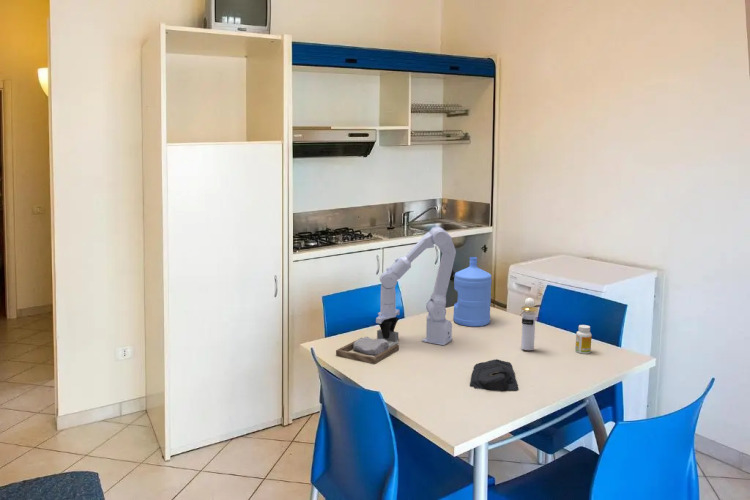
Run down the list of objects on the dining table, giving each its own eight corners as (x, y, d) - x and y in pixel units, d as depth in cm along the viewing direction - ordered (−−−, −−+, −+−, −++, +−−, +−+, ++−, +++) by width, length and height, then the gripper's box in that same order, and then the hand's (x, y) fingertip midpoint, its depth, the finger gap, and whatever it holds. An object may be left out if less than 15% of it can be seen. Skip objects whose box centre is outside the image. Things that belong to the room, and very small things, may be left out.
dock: (398, 350, 236) (398, 344, 235) (374, 364, 221) (374, 358, 221) (361, 342, 244) (361, 337, 244) (336, 355, 230) (336, 350, 229)
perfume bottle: (521, 346, 240) (523, 295, 236) (536, 348, 237) (539, 296, 234) (518, 351, 234) (520, 298, 231) (533, 353, 232) (536, 300, 228)
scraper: (398, 342, 244) (398, 332, 243) (387, 348, 237) (387, 338, 236) (380, 339, 248) (380, 329, 247) (369, 345, 241) (369, 334, 240)
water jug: (497, 321, 272) (499, 257, 267) (476, 329, 261) (478, 262, 256) (467, 314, 282) (469, 252, 277) (445, 322, 271) (447, 257, 266)
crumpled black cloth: (517, 369, 218) (518, 355, 217) (518, 394, 197) (518, 379, 196) (472, 365, 221) (473, 352, 220) (468, 390, 200) (468, 375, 199)
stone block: (378, 361, 229) (391, 348, 237) (376, 349, 228) (389, 337, 236) (350, 357, 235) (363, 344, 243) (348, 345, 234) (362, 333, 242)
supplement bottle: (593, 351, 234) (594, 326, 233) (586, 355, 230) (588, 329, 229) (579, 348, 238) (580, 323, 236) (572, 351, 234) (574, 326, 232)
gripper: (388, 297, 250) (388, 330, 253) (369, 305, 238) (369, 340, 241) (404, 299, 247) (403, 333, 249) (385, 308, 235) (385, 343, 237)
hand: (387, 336), depth 245 cm, fingers closed on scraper, 2 cm apart
